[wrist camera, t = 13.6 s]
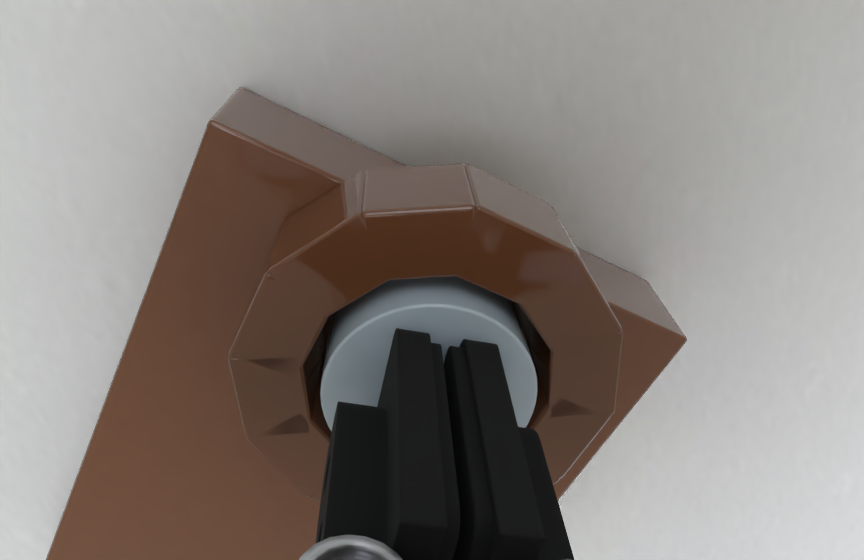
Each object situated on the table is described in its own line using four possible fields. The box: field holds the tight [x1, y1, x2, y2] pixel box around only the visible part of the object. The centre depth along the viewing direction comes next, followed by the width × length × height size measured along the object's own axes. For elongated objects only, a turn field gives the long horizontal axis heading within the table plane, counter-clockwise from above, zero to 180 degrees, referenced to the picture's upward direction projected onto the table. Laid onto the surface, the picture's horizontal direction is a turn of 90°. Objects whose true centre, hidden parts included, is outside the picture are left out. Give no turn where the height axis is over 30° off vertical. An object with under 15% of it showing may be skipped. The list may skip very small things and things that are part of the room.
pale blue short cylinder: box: [320, 276, 538, 432], centre depth 12 cm, size 4×4×2 cm
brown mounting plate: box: [46, 87, 687, 560], centre depth 15 cm, size 15×10×4 cm, turn 153°
